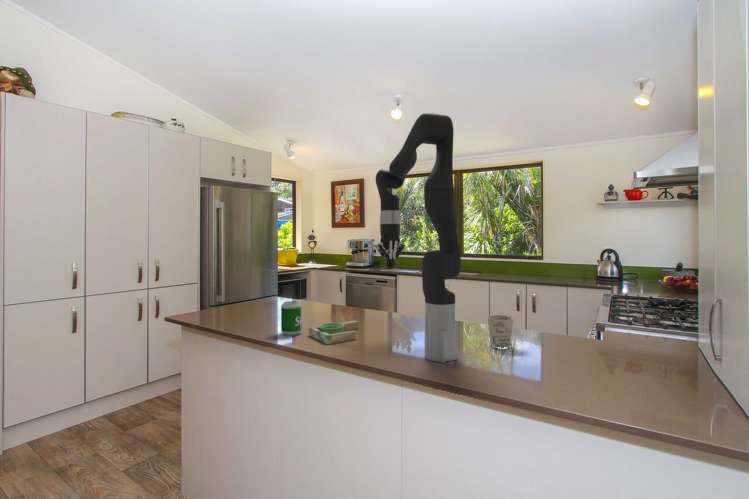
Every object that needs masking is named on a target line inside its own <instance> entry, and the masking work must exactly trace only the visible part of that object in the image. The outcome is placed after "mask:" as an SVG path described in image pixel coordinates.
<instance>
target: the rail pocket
mask: <svg viewBox="0 0 749 499" xmlns="http://www.w3.org/2000/svg"><path fill="white" fill-rule="evenodd" d="M340 323H341V324H343V325H344V328H343V332H340V333H334V334H328V333H326V332H323V331H321V330H320V327H319V326H320V325H317V326H310V327H309V328H308V330H309V332H308V333H309V334H308V335H309V336H310V337H311V338H314V339H315V340H318V341H320V342H322V343H324V344H326V345H332V344H337V343H343V342H350V341H355V340H357V331H356V330H359V321H358V320H351V321H345V322H340Z"/></svg>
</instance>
